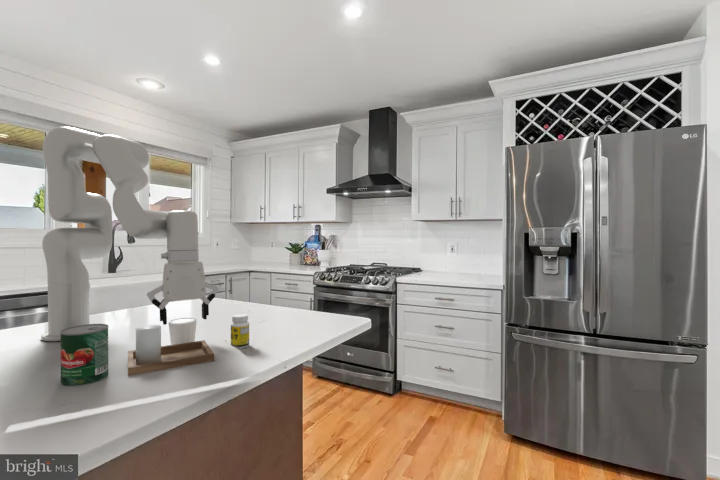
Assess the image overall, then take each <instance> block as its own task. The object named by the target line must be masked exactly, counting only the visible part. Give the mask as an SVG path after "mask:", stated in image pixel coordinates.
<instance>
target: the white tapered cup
mask: <svg viewBox="0 0 720 480" xmlns="http://www.w3.org/2000/svg"><path fill="white" fill-rule="evenodd" d="M197 321H198V320H197V318H194V317H181V318H180V317H179V318H175V319H172V320H169V321H168V330H169V338H170V345H174V344H182V343H189V342H196V331H197Z"/></svg>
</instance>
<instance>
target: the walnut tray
mask: <svg viewBox="0 0 720 480" xmlns="http://www.w3.org/2000/svg"><path fill="white" fill-rule="evenodd" d="M210 362H215V353H214V351H213V350H212V349H211V347H210V345H208V342H207V341H206V340H197V341H196V340H195V342H189V343H182V344H174V345H171V344H168V345H167V344H166V345H161V362H154V363H148V364H142V365H136V349H133V350H128V351H127V373H128V374H127V375H128V377H129V376H133V375H138V374H144V373H145V374H146V373H152V372H157V371H163V370H169V369H176V368H181V367H187V366H192V365H193V366H194V365H197V364H198V365H199V364H204V363H210Z"/></svg>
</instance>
